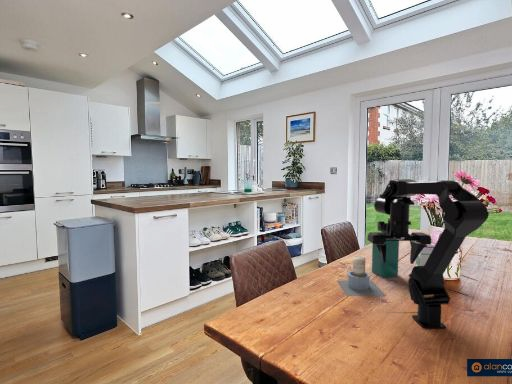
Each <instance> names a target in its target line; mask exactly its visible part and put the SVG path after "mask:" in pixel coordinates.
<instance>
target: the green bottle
mask: <svg viewBox="0 0 512 384" xmlns="http://www.w3.org/2000/svg"><path fill="white" fill-rule="evenodd" d="M387 223H388V222H385V224H387ZM380 233H382V234H383V231H380ZM384 235H389V234H384ZM393 238H394V237H393ZM371 244H372V246H371V247H372V248H371V249H372V250H371V272H372V273H373V274H375V275H377V276H379V277H380V278H381V277H382V278H392V277H397V276H398V275H399V259H400V257H399V256H400V255H399V254H400V241H386V242H385V243H384V244H385V245H386V261H385V264H384V263H383V262H382V259H381V256H380V253H379V250H378V248H377V246H376V245H374V244H373V243H371Z"/></svg>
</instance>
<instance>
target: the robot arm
mask: <svg viewBox="0 0 512 384" xmlns="http://www.w3.org/2000/svg"><path fill="white" fill-rule="evenodd" d="M417 195H436V196H437V198H438V205H439V207H440V209H441V210H442V212H443V213H444V214H443V217H442V220H443V224H444V228H443V231H442V232H441V234H440V236H439V237H438V240H437V241H436V243H435V244H434V245H435V247H434V248H433V250H432V252H431V254H430V256H429V258H428V259H427V261H426V263H425V265H424V266H416V265H415V266H413V267H412V268H411V269H412V270H411V272H410V274H408V282H407V285H408V290H409V291H408V292H409V296H410V299H411V301H412V302H413V304H414V305H417V311H416V312H417V315H416V314H412V315H411V316H412V319H413V320H415V321H416V322H417V324H419V325H420V327H422V328H423V329H447V326H446V325H445V323H443V322H442V321H441V320H442V305H449V304H450V301H451V297H450V295H449V293H448V291H447V290H446V288H445V286H444V285H445V283H446V282H445V277H444V274H445V272H446V270H447V269H448V267H449V265H450V264H451V262H452V260H453V259H454V257H455V255H456V254H457V252H458V250H459V249H460V247H461V245H463V244H462V243H464V241H465V239H466V237H467V236H469V235H470V234H472V233H474V232H475V231H477V230H478V229H480V227H481V226H482V225H484V223H485V222H486V221H487V220H488V218H489V215H490V212H488V208H487V206H486V204H485V203H483V202H482V201H480V199H479V198H478V197H477V196H476V195H475V194H473V193H472V192H470V191H469V190H467V189H466V188H464V187H462V186H461V185H460V183H459V182H457V181H456V180H452V179H451V180H438V181H416V180H415V179H409V178H408V179H407V178H405V179H403V178H401V179H398V178H397V179H390V180H389V182H388V184H387V185H386V187H385V189H384V191H383V192H382V193H380V194H379V197H378V198H377V199H376V200H375V202H374V204H373V206H374V210H375V211H376V212H377V213H380V214H385V215H388V216H389V218H388V219H387V222H385V221H377V225H376V226H377V232H375V231H373V232H372V231H369V233H368V234H367V241H369V242H370V243H371V244H372V243H373V244H374V245H376V246H377V248H378V250H379V253H380V256H381V259H382V262H383V263H384V264H385V261H386V245H385V244H384V243H385V242H386V241H399V242H403V241H404V242H409V244H410V255H409V262H410V264H411V265H413V264H414V263H415V262H416V258H417V257H418V255H419V253H420V252H421V251H422V250H423V248H424V247H427V245H426V244H431V243H432V237H431V236H430V234H427V233H425V232H423V231H422V232H421V231H419V232H414V231H413V232H411V234H410V232H409V228H410V227H409V226H411V225H412V221H411V220H410V206H413V205H414V206H415V202H414V201H413V199H411V198H410V197H414V196H417ZM450 196H451V197H452V198H454V199H455V200H454V201H453V200H452V198H451V197H450ZM385 223H387V224H385ZM381 231H383V234H382V233H381ZM384 234H389V235H384ZM393 237H394V238H393Z"/></svg>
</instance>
